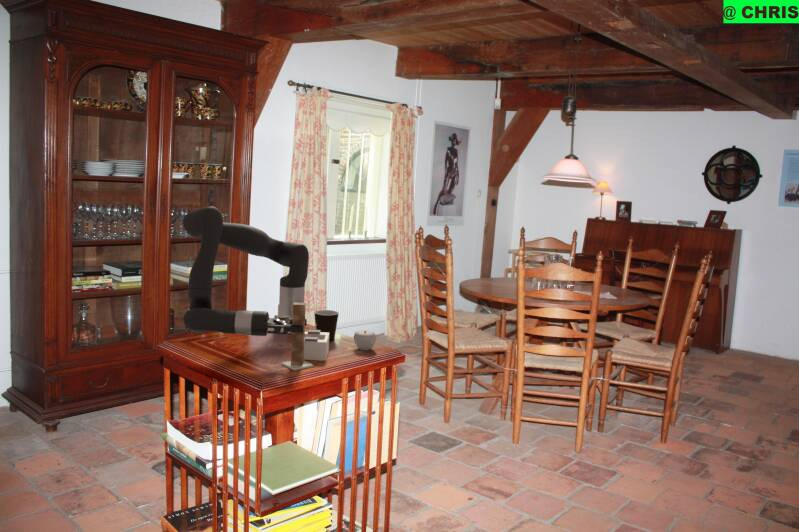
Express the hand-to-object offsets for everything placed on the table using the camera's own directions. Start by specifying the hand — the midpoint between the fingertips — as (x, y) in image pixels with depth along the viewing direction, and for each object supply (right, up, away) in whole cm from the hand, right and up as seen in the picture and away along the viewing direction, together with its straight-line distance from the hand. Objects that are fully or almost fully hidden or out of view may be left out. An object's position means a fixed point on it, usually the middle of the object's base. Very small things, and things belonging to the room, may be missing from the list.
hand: (305, 325), depth 200 cm
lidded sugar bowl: (+17, -11, +25) cm, 32 cm away
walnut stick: (-3, -12, +2) cm, 12 cm away
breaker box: (0, -11, +15) cm, 18 cm away
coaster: (-3, -13, +2) cm, 13 cm away
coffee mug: (+3, -8, +36) cm, 37 cm away
